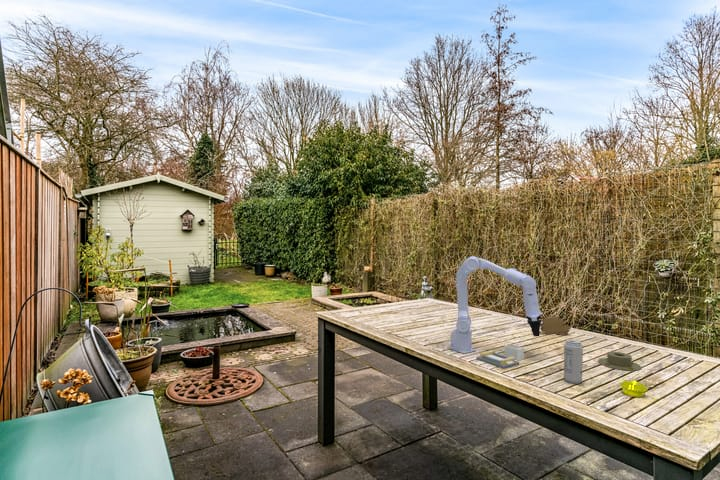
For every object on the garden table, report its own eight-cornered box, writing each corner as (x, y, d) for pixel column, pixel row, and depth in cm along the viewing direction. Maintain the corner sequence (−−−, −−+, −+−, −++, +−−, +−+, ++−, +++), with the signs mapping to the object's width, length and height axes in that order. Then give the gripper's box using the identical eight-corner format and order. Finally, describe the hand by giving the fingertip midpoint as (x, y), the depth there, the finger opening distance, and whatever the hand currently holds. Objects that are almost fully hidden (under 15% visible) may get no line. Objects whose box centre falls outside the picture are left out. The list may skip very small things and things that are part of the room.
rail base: (476, 359, 169) (476, 352, 169) (491, 355, 175) (491, 349, 175) (503, 368, 158) (503, 362, 158) (519, 364, 163) (519, 357, 163)
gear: (653, 398, 130) (635, 388, 138) (653, 387, 130) (636, 378, 138) (630, 398, 130) (613, 389, 138) (630, 387, 130) (614, 378, 138)
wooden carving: (568, 334, 213) (568, 316, 213) (571, 336, 208) (571, 317, 208) (536, 332, 216) (536, 314, 216) (538, 334, 211) (538, 316, 211)
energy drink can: (584, 385, 141) (585, 343, 141) (566, 383, 142) (567, 342, 142) (578, 378, 147) (579, 339, 147) (561, 377, 148) (562, 338, 148)
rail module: (504, 356, 174) (504, 344, 174) (509, 355, 176) (509, 343, 176) (517, 360, 168) (517, 348, 168) (523, 359, 170) (523, 347, 170)
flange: (620, 348, 172) (590, 350, 170) (651, 359, 157) (618, 361, 155) (620, 359, 172) (589, 361, 170) (650, 371, 157) (618, 373, 155)
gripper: (542, 305, 165) (547, 337, 164) (540, 299, 178) (544, 329, 178) (524, 306, 167) (529, 338, 167) (523, 301, 181) (527, 330, 180)
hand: (536, 334), depth 172 cm, fingers open, 7 cm apart
